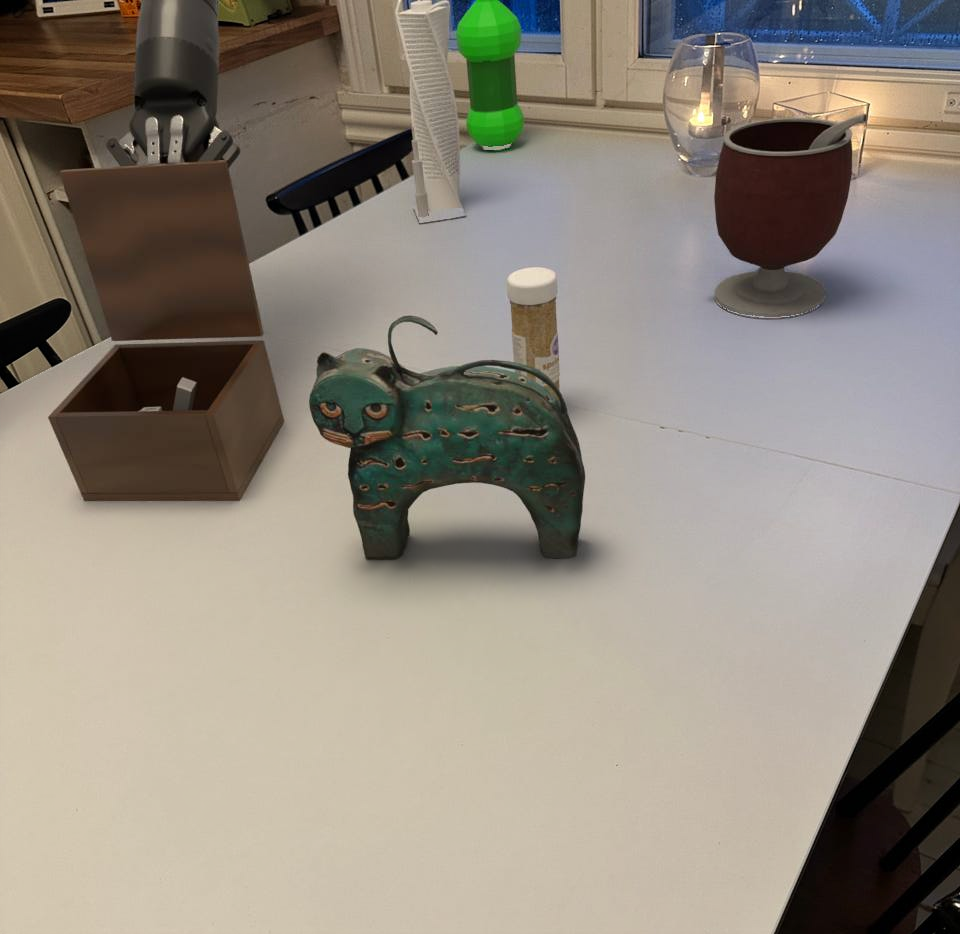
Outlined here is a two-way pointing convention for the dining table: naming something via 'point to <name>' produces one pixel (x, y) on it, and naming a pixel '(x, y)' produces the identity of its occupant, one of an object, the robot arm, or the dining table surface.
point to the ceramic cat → (448, 440)
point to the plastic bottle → (491, 72)
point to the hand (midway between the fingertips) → (168, 238)
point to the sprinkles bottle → (535, 322)
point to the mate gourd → (780, 208)
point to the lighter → (180, 396)
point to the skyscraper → (431, 106)
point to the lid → (165, 250)
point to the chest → (170, 422)
